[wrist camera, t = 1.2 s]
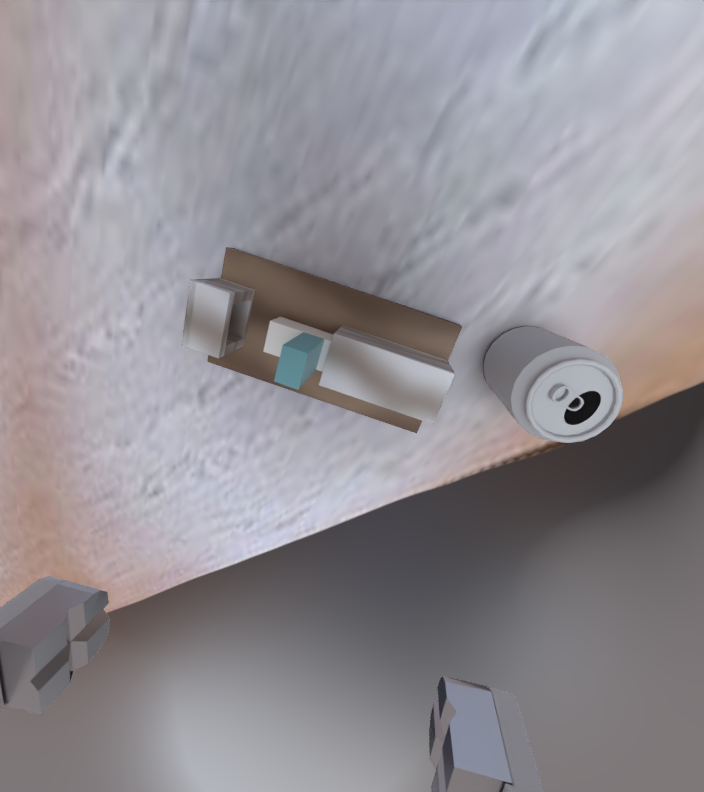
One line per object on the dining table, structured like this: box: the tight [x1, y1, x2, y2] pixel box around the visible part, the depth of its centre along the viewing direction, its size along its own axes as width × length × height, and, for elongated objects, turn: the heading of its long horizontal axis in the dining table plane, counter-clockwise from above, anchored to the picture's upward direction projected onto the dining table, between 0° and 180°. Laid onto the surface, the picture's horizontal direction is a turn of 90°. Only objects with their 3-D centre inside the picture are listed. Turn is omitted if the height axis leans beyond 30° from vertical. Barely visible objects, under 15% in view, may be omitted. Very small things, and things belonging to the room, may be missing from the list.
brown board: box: [182, 247, 462, 433], centre depth 34 cm, size 12×24×7 cm, turn 72°
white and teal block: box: [263, 317, 333, 390], centre depth 31 cm, size 3×16×9 cm, turn 72°
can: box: [483, 326, 623, 443], centre depth 30 cm, size 8×8×12 cm
